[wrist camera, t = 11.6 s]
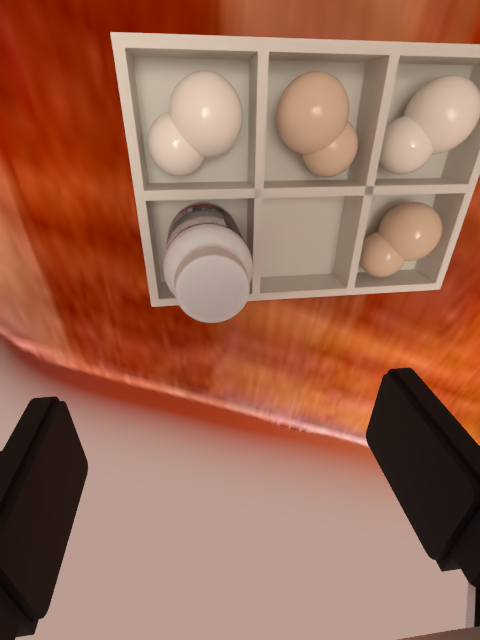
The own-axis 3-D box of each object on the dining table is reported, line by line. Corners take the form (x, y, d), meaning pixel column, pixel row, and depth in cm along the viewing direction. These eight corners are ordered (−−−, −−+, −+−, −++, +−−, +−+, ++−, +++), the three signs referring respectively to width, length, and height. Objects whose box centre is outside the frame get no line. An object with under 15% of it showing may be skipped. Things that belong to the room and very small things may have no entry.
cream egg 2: (434, 60, 22) (483, 50, 18) (461, 116, 24) (510, 117, 20) (355, 139, 24) (385, 144, 20) (386, 184, 26) (418, 197, 22)
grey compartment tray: (478, 55, 23) (523, 45, 20) (414, 272, 31) (440, 289, 28) (121, 45, 20) (110, 32, 17) (155, 286, 28) (151, 307, 25)
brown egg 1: (256, 109, 22) (271, 109, 18) (310, 57, 21) (338, 45, 17) (307, 187, 25) (329, 200, 21) (357, 144, 24) (389, 150, 20)
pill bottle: (243, 261, 27) (268, 323, 19) (178, 275, 27) (175, 344, 19) (231, 193, 25) (255, 231, 16) (159, 208, 24) (145, 254, 16)
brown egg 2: (400, 183, 26) (435, 196, 22) (430, 219, 28) (467, 236, 24) (339, 247, 28) (361, 267, 24) (370, 276, 30) (395, 299, 26)
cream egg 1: (206, 55, 20) (210, 43, 17) (251, 121, 22) (263, 122, 19) (134, 133, 22) (122, 138, 18) (182, 187, 24) (180, 201, 20)
